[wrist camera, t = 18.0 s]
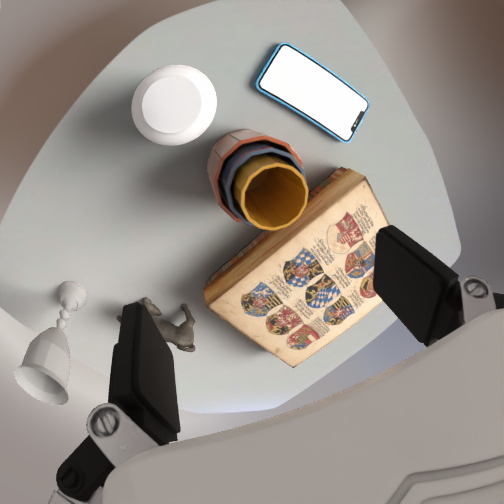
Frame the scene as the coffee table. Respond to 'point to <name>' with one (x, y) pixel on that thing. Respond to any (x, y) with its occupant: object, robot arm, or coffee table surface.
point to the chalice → (51, 353)
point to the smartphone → (313, 92)
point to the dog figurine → (173, 327)
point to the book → (305, 272)
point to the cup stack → (234, 155)
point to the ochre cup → (269, 191)
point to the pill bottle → (174, 105)
